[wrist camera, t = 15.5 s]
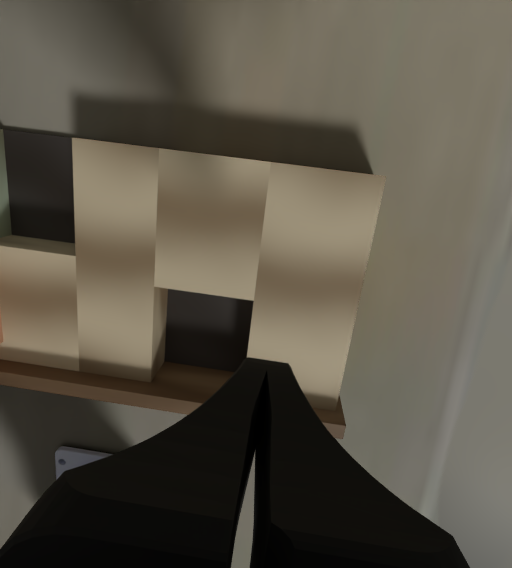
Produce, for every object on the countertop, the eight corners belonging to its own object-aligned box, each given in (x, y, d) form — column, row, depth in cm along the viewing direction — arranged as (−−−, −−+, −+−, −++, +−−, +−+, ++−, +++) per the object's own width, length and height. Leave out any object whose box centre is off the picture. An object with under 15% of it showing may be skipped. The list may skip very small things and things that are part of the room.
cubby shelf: (334, 397, 22) (342, 439, 19) (-65, 336, 23) (-125, 364, 20) (385, 159, 18) (407, 157, 15) (-103, 100, 19) (-187, 85, 16)
